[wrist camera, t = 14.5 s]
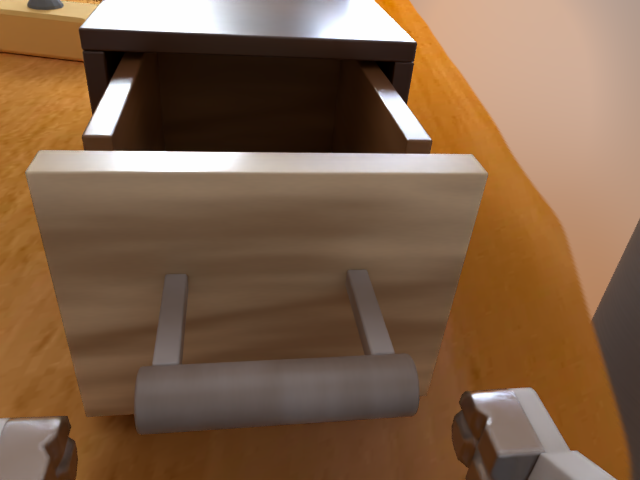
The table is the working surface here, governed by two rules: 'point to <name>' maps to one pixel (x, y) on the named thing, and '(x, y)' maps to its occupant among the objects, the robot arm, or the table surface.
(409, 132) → the drawer
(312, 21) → the cabinet
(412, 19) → the table surface
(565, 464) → the robot arm
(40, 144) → the table surface
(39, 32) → the rubber stamp
